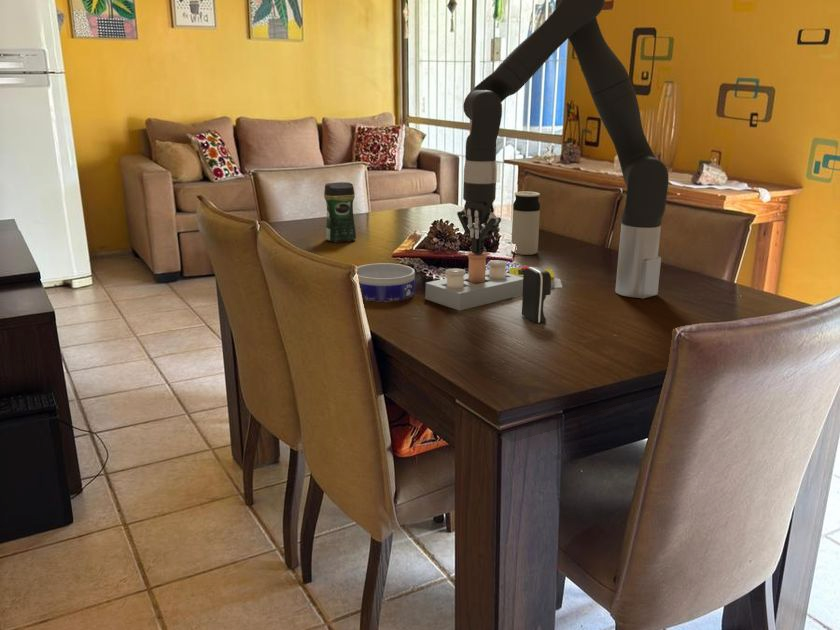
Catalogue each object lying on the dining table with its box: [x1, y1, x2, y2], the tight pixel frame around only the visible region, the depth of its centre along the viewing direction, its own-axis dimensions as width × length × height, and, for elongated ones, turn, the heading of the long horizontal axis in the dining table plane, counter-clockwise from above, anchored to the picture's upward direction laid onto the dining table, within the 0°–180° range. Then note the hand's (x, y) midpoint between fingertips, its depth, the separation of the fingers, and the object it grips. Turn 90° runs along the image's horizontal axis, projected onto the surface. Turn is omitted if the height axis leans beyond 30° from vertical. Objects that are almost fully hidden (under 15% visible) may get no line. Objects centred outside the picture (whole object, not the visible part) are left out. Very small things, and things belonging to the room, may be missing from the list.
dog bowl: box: [356, 262, 416, 303], centre depth 185 cm, size 15×15×6 cm
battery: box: [521, 266, 552, 324], centre depth 166 cm, size 7×4×11 cm, turn 21°
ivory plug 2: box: [487, 259, 508, 280], centre depth 187 cm, size 5×5×7 cm
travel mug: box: [511, 190, 541, 256], centre depth 228 cm, size 8×8×18 cm
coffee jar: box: [323, 181, 357, 243], centre depth 243 cm, size 10×8×19 cm
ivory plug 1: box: [445, 268, 466, 289], centre depth 179 cm, size 5×5×7 cm
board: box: [424, 269, 523, 311], centre depth 183 cm, size 12×22×4 cm, turn 130°
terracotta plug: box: [467, 251, 488, 284], centre depth 182 cm, size 5×5×7 cm
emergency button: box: [508, 265, 563, 289], centre depth 197 cm, size 9×4×15 cm
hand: (477, 253), depth 181 cm, fingers closed
